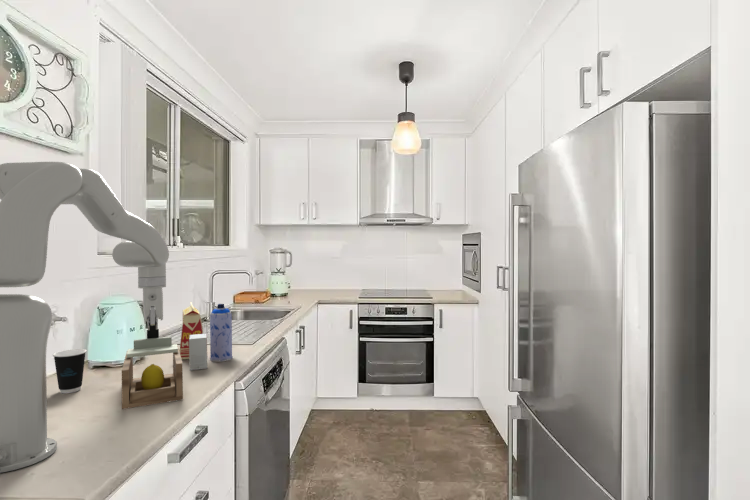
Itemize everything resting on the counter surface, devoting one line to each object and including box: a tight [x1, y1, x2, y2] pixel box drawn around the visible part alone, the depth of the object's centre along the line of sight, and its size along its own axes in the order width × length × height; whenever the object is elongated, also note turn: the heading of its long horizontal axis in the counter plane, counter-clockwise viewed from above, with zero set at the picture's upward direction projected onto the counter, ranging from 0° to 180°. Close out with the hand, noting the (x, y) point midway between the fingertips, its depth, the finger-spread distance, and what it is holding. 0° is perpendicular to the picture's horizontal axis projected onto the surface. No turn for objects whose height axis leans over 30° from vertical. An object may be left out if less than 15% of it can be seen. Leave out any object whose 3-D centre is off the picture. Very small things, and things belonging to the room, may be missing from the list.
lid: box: [126, 336, 179, 358], centre depth 125 cm, size 7×13×4 cm, turn 117°
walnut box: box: [121, 344, 184, 410], centre depth 122 cm, size 24×14×10 cm, turn 27°
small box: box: [188, 333, 208, 371], centre depth 146 cm, size 8×6×10 cm
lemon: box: [140, 363, 165, 390], centre depth 116 cm, size 6×6×8 cm
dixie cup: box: [52, 348, 88, 394], centre depth 122 cm, size 8×8×11 cm
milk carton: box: [179, 301, 204, 360], centre depth 160 cm, size 9×9×20 cm
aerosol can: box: [209, 303, 234, 362], centre depth 156 cm, size 8×8×20 cm
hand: (152, 342), depth 130 cm, fingers closed
